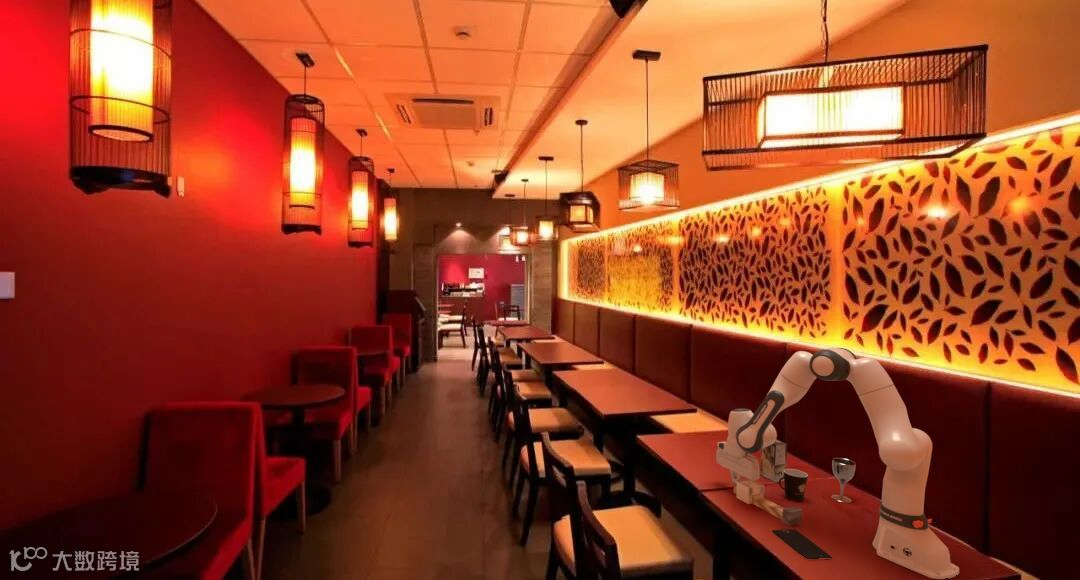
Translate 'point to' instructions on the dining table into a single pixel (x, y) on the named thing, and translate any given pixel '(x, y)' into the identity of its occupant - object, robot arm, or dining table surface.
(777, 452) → the coffee box
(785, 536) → the cell phone
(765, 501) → the rail
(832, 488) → the dining table surface
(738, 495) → the keeper
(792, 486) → the coffee mug
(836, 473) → the wine glass
